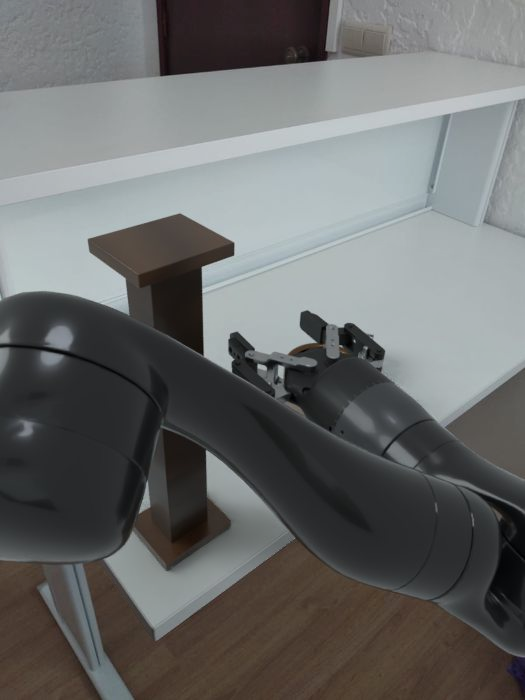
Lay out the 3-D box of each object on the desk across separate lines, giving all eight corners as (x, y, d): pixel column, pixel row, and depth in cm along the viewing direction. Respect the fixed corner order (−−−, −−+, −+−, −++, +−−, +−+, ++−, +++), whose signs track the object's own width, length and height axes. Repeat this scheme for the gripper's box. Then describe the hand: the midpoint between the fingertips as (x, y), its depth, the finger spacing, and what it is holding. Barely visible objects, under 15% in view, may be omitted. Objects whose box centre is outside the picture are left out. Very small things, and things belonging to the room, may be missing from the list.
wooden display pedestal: (166, 571, 62) (138, 274, 42) (129, 526, 67) (87, 238, 46) (231, 526, 67) (234, 242, 47) (192, 488, 72) (180, 212, 51)
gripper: (440, 361, 50) (327, 280, 61) (305, 416, 43) (206, 315, 54) (423, 425, 54) (320, 339, 65) (298, 484, 48) (207, 377, 59)
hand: (268, 328), depth 60 cm, fingers open, 8 cm apart
